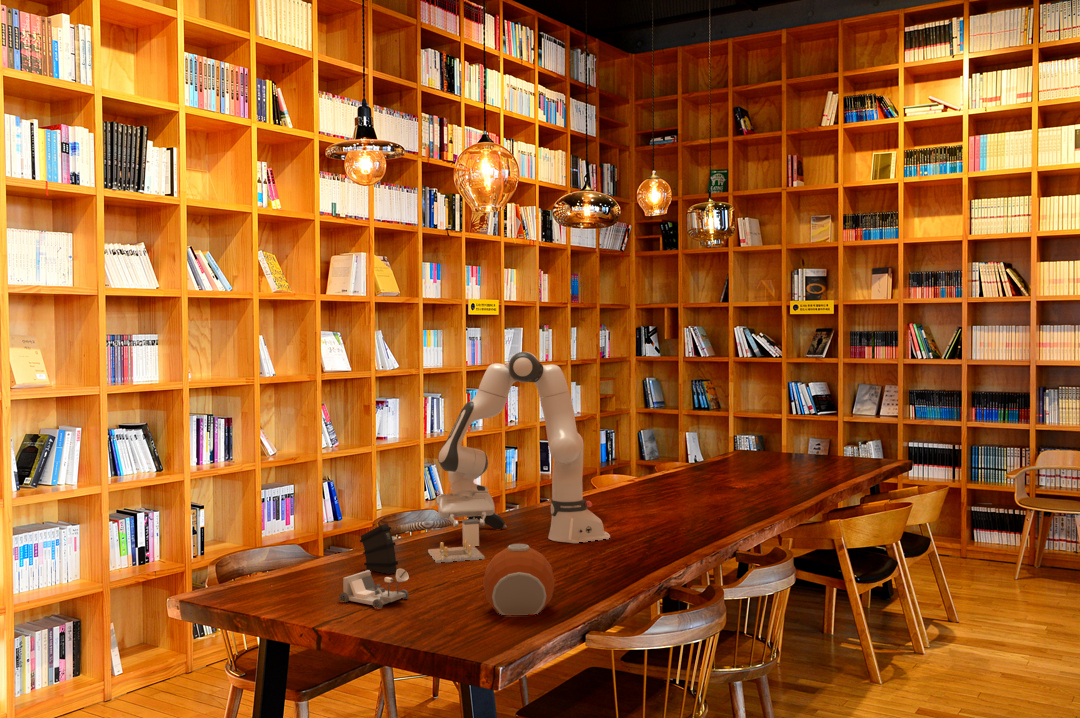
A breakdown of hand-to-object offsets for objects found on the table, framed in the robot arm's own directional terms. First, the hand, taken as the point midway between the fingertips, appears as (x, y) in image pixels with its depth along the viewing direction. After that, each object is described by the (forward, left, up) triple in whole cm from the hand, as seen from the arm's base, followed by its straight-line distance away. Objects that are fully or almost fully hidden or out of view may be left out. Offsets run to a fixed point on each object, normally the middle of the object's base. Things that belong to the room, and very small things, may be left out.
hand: (469, 525), depth 315 cm
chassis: (+8, +14, -7) cm, 18 cm away
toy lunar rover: (+39, +60, -8) cm, 72 cm away
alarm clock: (+4, +80, -7) cm, 81 cm away
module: (0, +1, -7) cm, 7 cm away
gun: (-12, -25, -7) cm, 28 cm away
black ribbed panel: (+35, +26, -7) cm, 44 cm away
